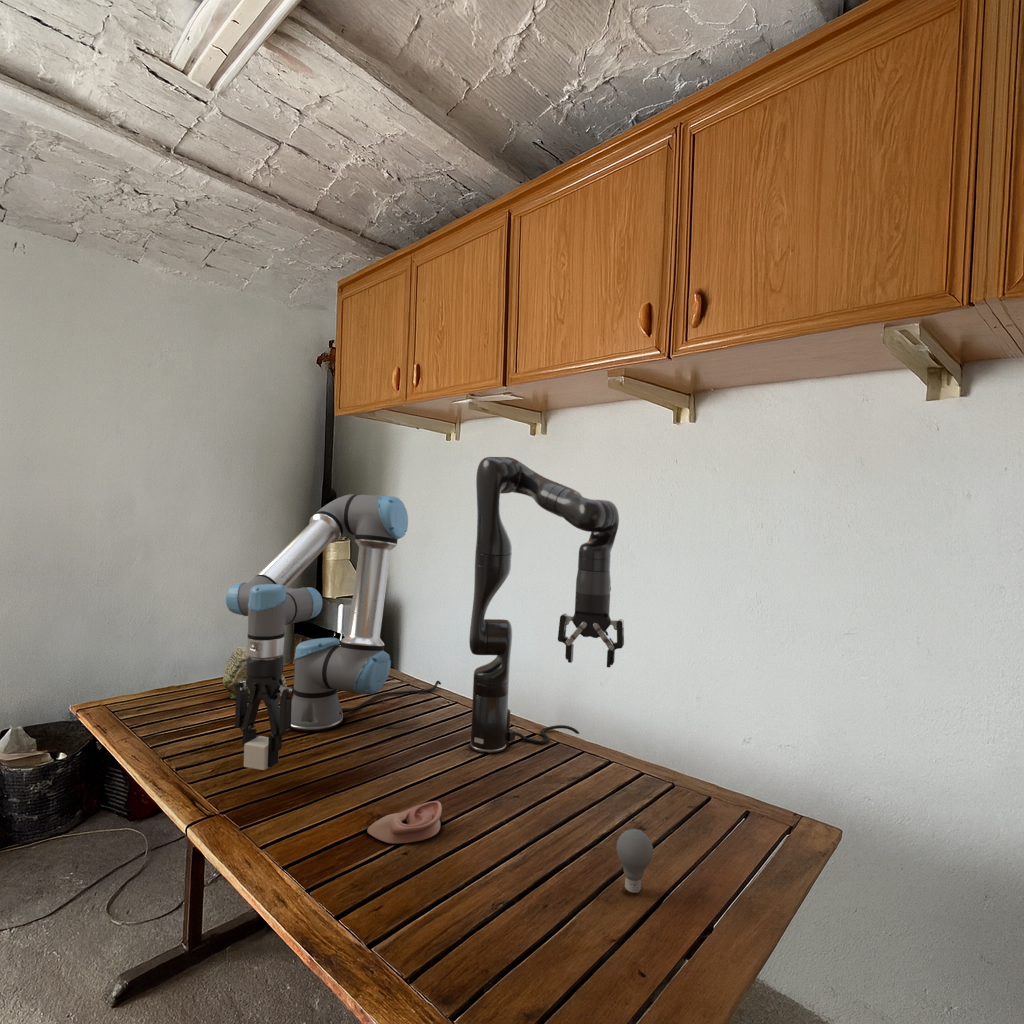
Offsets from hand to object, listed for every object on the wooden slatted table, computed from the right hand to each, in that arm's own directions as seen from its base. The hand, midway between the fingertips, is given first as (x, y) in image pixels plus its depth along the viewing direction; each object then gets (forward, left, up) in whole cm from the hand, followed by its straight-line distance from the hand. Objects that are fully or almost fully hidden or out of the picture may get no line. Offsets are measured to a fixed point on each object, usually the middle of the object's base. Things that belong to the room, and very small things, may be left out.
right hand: (589, 664), depth 139 cm
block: (+54, -46, -24) cm, 75 cm away
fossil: (+32, -108, -29) cm, 117 cm away
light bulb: (+19, +28, -29) cm, 45 cm away
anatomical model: (+39, -12, -29) cm, 50 cm away
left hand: (+54, -46, -24) cm, 75 cm away
